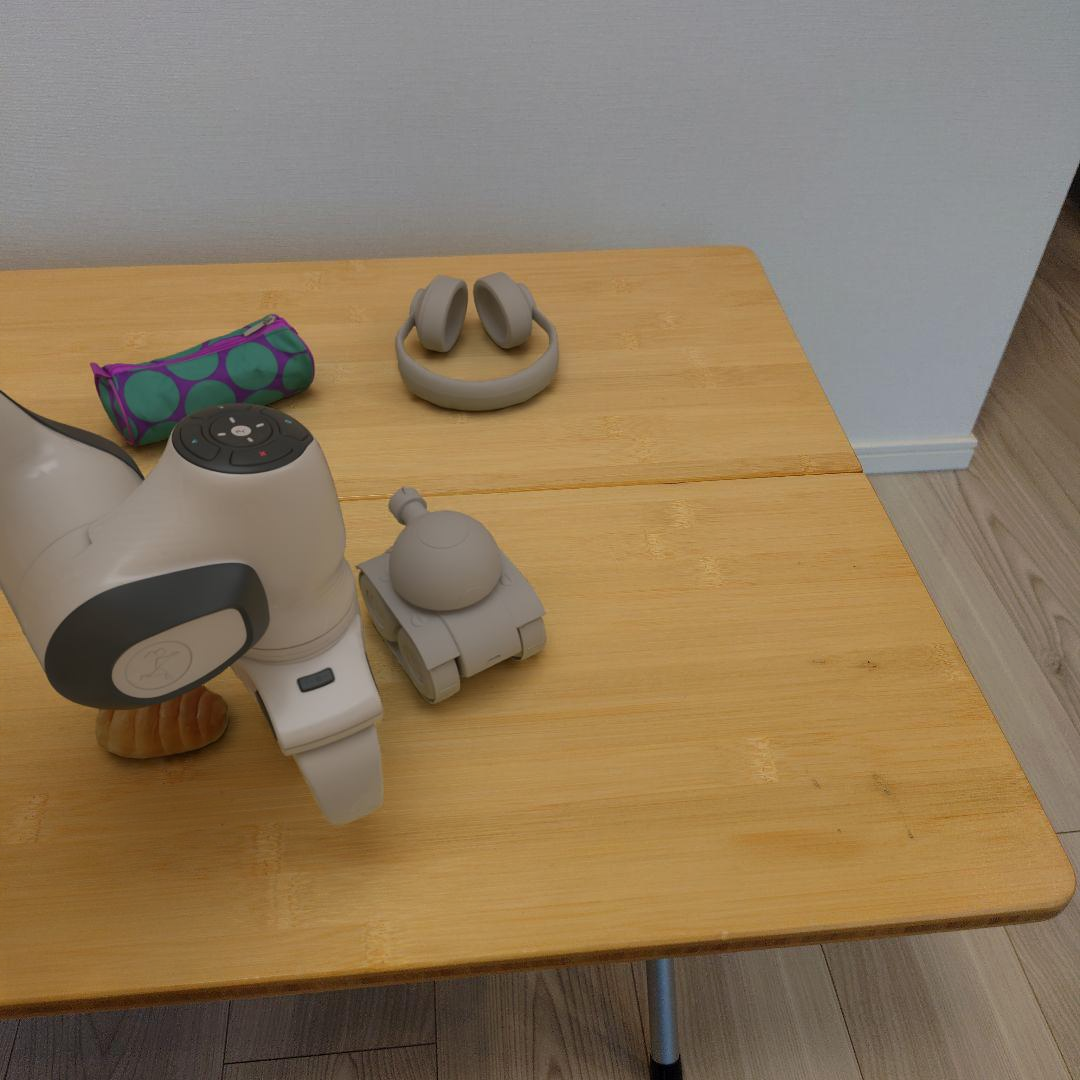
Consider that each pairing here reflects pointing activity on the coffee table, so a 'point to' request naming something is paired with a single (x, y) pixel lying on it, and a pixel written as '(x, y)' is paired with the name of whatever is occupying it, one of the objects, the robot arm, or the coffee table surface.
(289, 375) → the pencil case
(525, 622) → the toy tank
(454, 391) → the headphones
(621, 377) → the coffee table surface
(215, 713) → the pastry
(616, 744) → the coffee table surface
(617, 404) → the coffee table surface
